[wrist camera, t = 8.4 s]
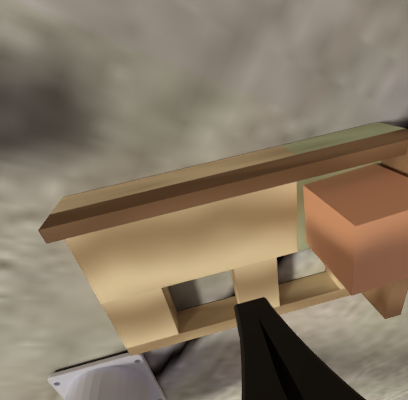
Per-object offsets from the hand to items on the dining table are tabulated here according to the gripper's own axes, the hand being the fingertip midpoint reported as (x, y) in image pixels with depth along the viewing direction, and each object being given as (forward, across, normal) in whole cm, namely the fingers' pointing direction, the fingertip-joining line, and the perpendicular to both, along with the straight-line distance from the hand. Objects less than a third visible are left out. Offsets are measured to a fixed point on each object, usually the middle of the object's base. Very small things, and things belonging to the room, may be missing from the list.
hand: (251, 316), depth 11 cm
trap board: (+8, -2, +2) cm, 8 cm away
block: (+6, -8, 0) cm, 9 cm away
